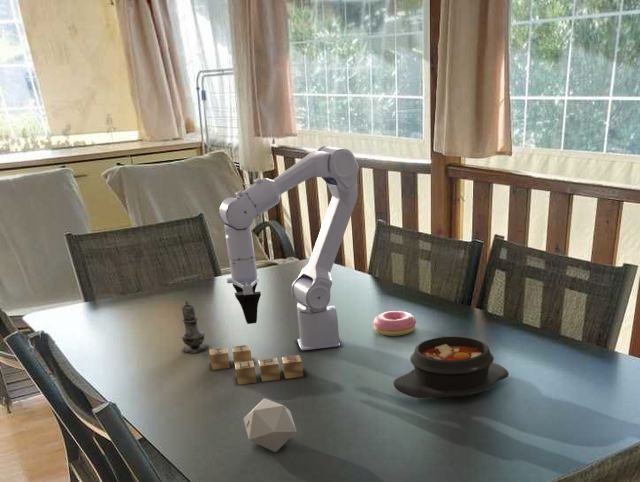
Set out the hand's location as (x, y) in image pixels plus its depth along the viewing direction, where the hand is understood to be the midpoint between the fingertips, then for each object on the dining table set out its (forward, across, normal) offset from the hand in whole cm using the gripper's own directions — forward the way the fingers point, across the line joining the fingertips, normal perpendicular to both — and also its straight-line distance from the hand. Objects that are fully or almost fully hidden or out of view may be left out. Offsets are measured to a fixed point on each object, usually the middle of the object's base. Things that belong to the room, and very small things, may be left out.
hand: (250, 318), depth 159 cm
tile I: (+9, +3, -8) cm, 13 cm away
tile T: (+9, +3, -3) cm, 10 cm away
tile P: (+9, +14, +2) cm, 17 cm away
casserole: (+10, +32, +38) cm, 51 cm away
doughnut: (+10, -7, +36) cm, 38 cm away
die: (+10, +47, -1) cm, 48 cm away
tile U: (+9, +14, -3) cm, 17 cm away
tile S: (+9, +14, +7) cm, 18 cm away
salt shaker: (+10, -11, -14) cm, 20 cm away
